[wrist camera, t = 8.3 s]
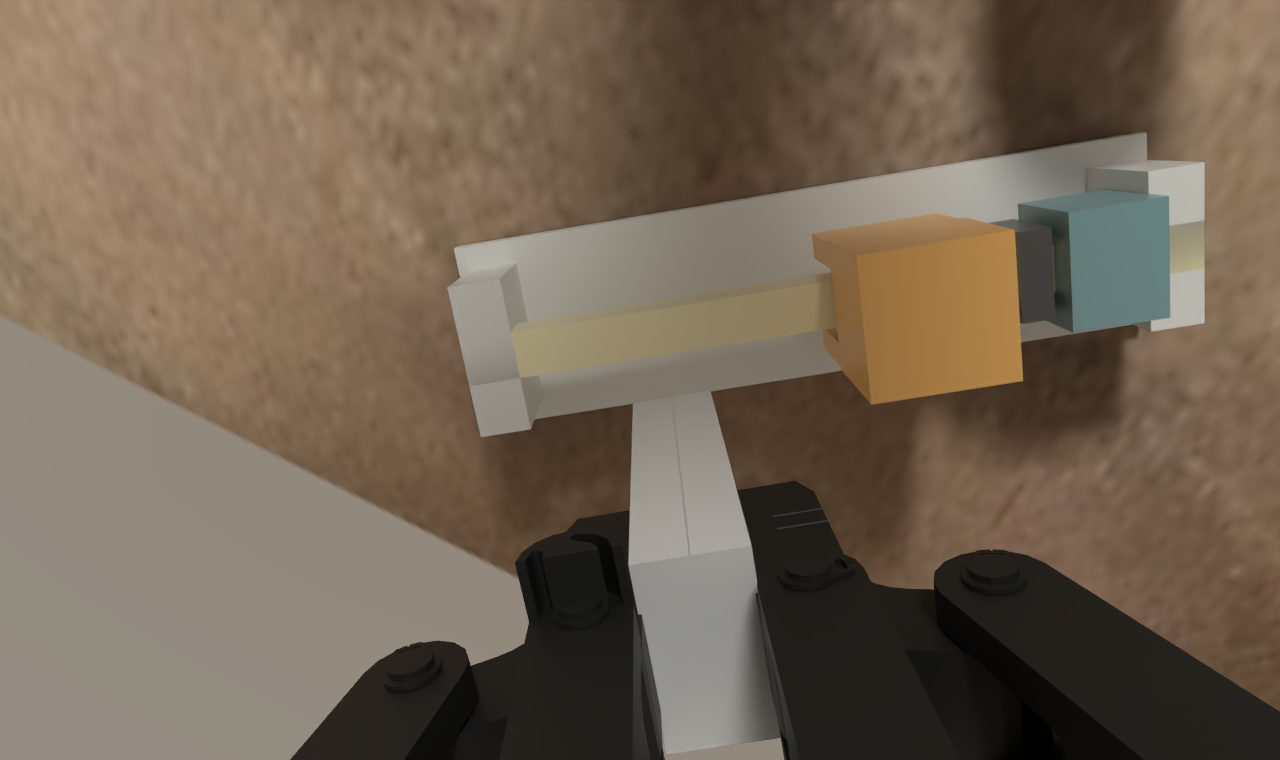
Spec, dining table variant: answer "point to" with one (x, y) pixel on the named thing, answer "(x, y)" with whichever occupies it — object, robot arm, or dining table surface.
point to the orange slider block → (923, 305)
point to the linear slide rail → (809, 277)
